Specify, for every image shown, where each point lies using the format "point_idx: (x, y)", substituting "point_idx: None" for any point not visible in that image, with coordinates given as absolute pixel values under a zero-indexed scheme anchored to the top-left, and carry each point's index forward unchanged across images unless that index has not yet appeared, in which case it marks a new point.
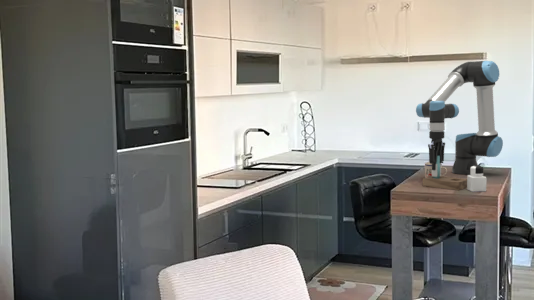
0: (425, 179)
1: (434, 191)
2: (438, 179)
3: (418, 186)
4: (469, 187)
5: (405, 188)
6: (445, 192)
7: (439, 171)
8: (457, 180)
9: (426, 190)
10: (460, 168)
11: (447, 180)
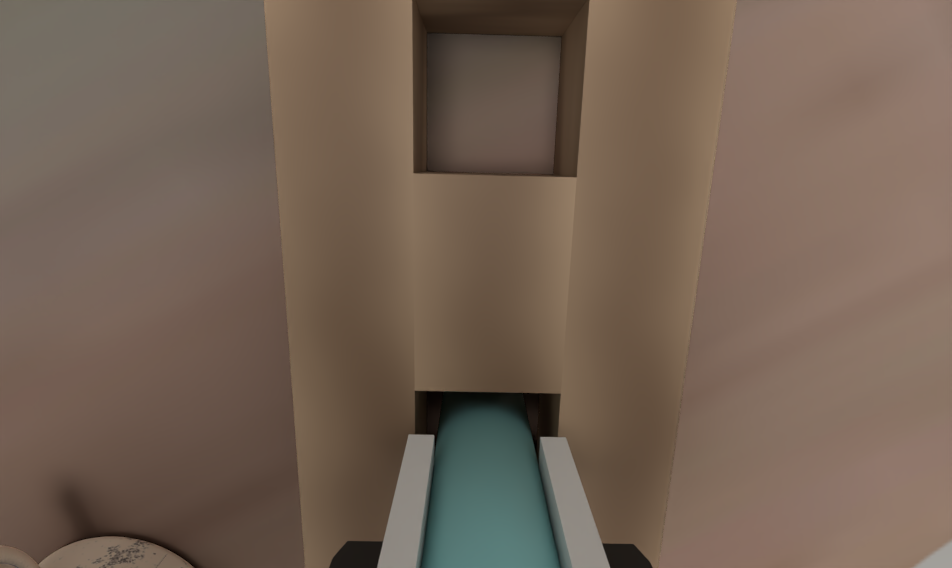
0: (657, 527)
1: (930, 201)
2: (628, 355)
3: (667, 521)
4: None
5: (870, 561)
6: (947, 35)
7: (479, 483)
8: (416, 102)
9: (899, 319)
10: None
11: (649, 183)
